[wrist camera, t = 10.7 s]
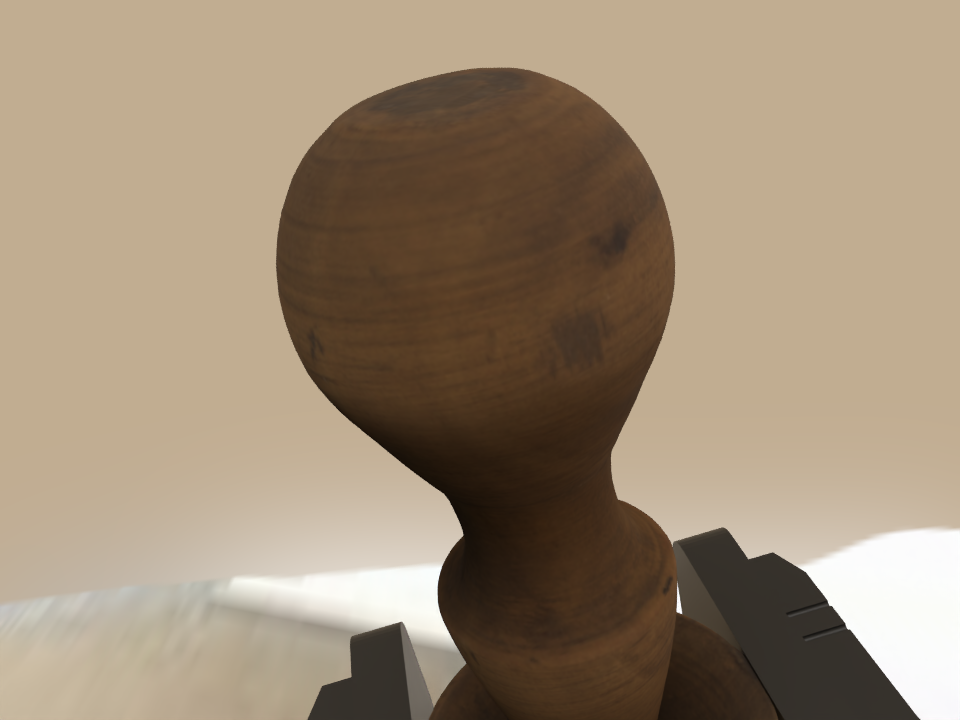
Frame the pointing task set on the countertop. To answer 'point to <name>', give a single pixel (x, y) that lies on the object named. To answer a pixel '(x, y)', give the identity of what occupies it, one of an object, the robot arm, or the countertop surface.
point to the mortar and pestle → (509, 380)
